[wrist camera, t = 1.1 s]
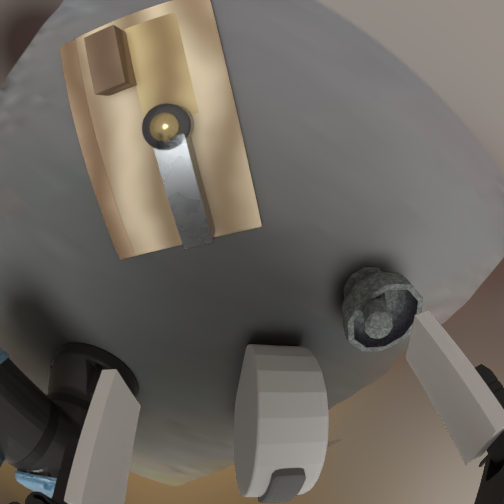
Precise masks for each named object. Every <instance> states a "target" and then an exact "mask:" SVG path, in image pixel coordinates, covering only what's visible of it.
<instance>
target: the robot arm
mask: <svg viewBox="0 0 504 504" xmlns="http://www.w3.org/2000/svg"><path fill="white" fill-rule="evenodd" d="M8 356H9V355H8V354H7V353H6V352H4V351H3V350H2V349H1V348H0V467H1V465H2V463H3V461H4V460H5V461H7V462H8V463H10V464H11V465H13V466H14V467H15V468H17V471H15V476H16V480H17V481H18V482H19V483H21V484H22V485H23V486H25V487H27V488H29V489H31V490H33V491H35V492H32V493H31V494H29V495H28V496H27V498H26V500H25V504H125V496H126V489H127V482H128V475H129V469H130V462H131V456H132V450H133V444H134V439H135V433H136V428H137V423H138V418H139V412H140V408H141V406H140V404H139V403H138V401H137V400H136V397H137V393H138V384H137V381H136V379H135V377H134V375H133V374H132V372H131V371H130V370H129V369H128V368H127V367H126V366H125V365H124V364H123V363H122V362H121V361H120V360H118V359H117V358H116V357H114V356H112V355H111V354H109V353H107V352H105V351H103V350H101V349H99V348H97V347H94V346H91V345H87V344H81V343H69V344H65V345H63V346H61V347H60V348H59V349H58V350H57V351H56V353H55V355H54V357H53V359H52V361H51V365H50V373H51V374H50V380H49V388H48V394H47V396H46V395H45V394H44V393H43V392H42V391H41V390H40V389H39V388H38V387H37V386H36V385H35V384H34V383H33V382H32V381H31V380H30V379H29V378H28V377H27V376H26V375H25V374H24V373H23V372H22V371H21V370H20V369H19V368H18V367H17V366H16V365H15V364H14V363H13V362H12V361H11V360H10V359H9V357H8ZM406 360H407V361H408V363H409V364H410V366H411V368H412V370H413V371H414V373H415V375H416V376H417V378H418V379H419V381H420V382H421V385H422V386H423V388H424V389H425V391H426V393H427V395H428V396H429V398H430V400H431V402H432V403H433V405H434V407H435V409H436V410H437V412H438V414H439V416H440V418H441V419H442V421H443V423H444V425H445V427H446V429H447V430H448V432H449V434H450V436H451V438H452V440H453V442H454V444H455V446H456V447H457V449H458V451H459V453H460V455H461V457H462V459H463V461H464V463H465V465H468V464H469V463H471V462H472V461H474V460H476V459H477V458H479V457H480V456H481V455H482V454H483V453H484V452H485V451H486V450H487V452H488V455H487V456H486V457H485V458H484V459H483V460H482V461H481V463H480V465H479V467H481V466H482V465H483V464H484V463H485V462H486V463H485V466H484V471H483V475H482V479H481V483H480V487H479V490H478V494H477V497H476V500H475V503H474V504H504V388H503V386H502V384H501V383H500V382H499V381H498V379H497V378H496V376H495V375H494V374H493V372H492V371H491V370H490V369H488V368H487V367H485V366H484V365H482V364H481V365H479V366H477V367H475V368H474V367H473V365H472V364H471V363H470V362H469V360H468V359H467V358H466V356H465V355H464V354H463V352H462V351H461V350H460V349H459V347H458V346H457V345H456V343H455V342H454V341H453V340H452V338H451V337H450V336H449V335H448V333H447V332H446V331H445V330H444V329H443V327H442V326H441V325H440V324H439V322H438V321H437V320H436V319H435V318H434V317H433V315H432V314H431V313H430V312H429V311H426V312H423V313H420V314H417V315H415V317H414V322H413V327H412V332H411V337H410V341H409V346H408V350H407V354H406ZM49 497H50V498H49ZM51 498H52V499H51ZM9 504H20V503H18V502H12V503H9Z"/></svg>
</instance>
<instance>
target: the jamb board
mask: <svg viewBox="0 0 504 504" xmlns="http://www.w3.org/2000/svg"><path fill="white" fill-rule="evenodd" d="M60 52H61V59H62V65H63V71H64V76H65V82H66V87H67V92H68V97H69V101H70V106H71V110H72V115H73V119H74V123H75V127H76V131H77V135H78V139H79V142H80V146H81V150H82V153H83V157H84V160H85V163H86V167H87V170H88V173H89V176H90V180H91V183H92V186H93V189H94V192H95V195H96V198H97V201H98V204H99V207H100V209H101V212H102V215H103V218H104V221H105V223H106V226H107V229H108V231H109V234H110V236H111V239H112V242H113V244H114V247H115V249H116V252H117V254H118V256H119V259H124V258H129V257H133V256H136V255H140V254H144V253H149V252H153V251H157V250H161V249H165V248H170V247H174V246H178V245H182V241H181V238H180V235H179V232H178V229H177V226H176V223H175V220H174V216H173V213H172V210H171V207H170V203H169V200H168V197H167V194H166V190H165V187H164V183H163V180H162V177H161V173H160V170H159V166H158V162H157V159H156V155H155V152H154V148H153V147H151V146H150V145H149V144H148V143H147V142H146V140H145V139H144V137H143V133H142V123H143V119H144V117H145V115H146V114H147V113H148V111H149V110H151V109H152V108H153V107H155V106H157V105H159V104H164V103H169V104H175V105H180V106H183V107H185V108H186V109H187V110H188V111H189V112H190V113H191V114H192V117H193V119H194V129H193V132H192V134H191V138H192V142H193V146H194V150H195V154H196V158H197V162H198V166H199V170H200V173H201V177H202V181H203V185H204V189H205V192H206V196H207V200H208V204H209V207H210V211H211V215H212V218H213V222H214V226H215V235H214V237H217V236H222V235H226V234H230V233H235V232H239V231H244V230H248V229H253V228H258V227H262V225H261V220H260V215H259V211H258V206H257V201H256V197H255V192H254V187H253V183H252V178H251V174H250V169H249V165H248V160H247V156H246V151H245V147H244V142H243V138H242V133H241V129H240V124H239V120H238V115H237V111H236V107H235V102H234V98H233V94H232V89H231V85H230V81H229V76H228V72H227V68H226V64H225V59H224V55H223V51H222V47H221V42H220V38H219V34H218V30H217V26H216V22H215V18H214V13H213V9H212V5H211V1H210V0H173V1H169V2H166V3H162V4H159V5H156V6H153V7H150V8H147V9H144V10H141V11H138V12H136V13H133V14H130V15H128V16H125V17H123V18H120V19H118V20H115V21H113V22H110V23H108V24H106V25H104V26H101V27H99V28H97V29H95V30H93V31H90V32H88V33H86V34H84V35H82V36H80V37H78V38H76V39H74V40H72V41H70V42H68V43H66V44H65V45H63V46H61V47H60Z"/></svg>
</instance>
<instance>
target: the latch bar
mask: <svg viewBox="0 0 504 504" xmlns="http://www.w3.org/2000/svg"><path fill="white" fill-rule="evenodd" d="M193 129H194V119H193V117H192V114H191V113H190V112H189V111H188V110H187V109H186V108H185V107H183V106H180V105H175V104H169V103H164V104H159V105H157V106H155V107H153V108H152V109H151V110H149V111H148V113H147V114H146V115H145V117H144V119H143V123H142V133H143V137H144V139H145V140H146V142H147V143H148V144H149V145H150V146H151V147H153V148H154V152H155V155H156V159H157V162H158V166H159V170H160V173H161V177H162V180H163V183H164V187H165V190H166V194H167V197H168V200H169V203H170V207H171V210H172V213H173V216H174V220H175V223H176V226H177V229H178V232H179V235H180V238H181V241H182V245H183V248H184V249H188V248H193V247H197V246H201V245H206V244H210V243H214V235H215V226H214V222H213V218H212V215H211V211H210V207H209V204H208V200H207V196H206V192H205V189H204V185H203V181H202V177H201V173H200V170H199V166H198V162H197V158H196V154H195V150H194V146H193V142H192V138H191V134H192V132H193Z"/></svg>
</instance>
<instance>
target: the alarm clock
mask: <svg viewBox="0 0 504 504" xmlns="http://www.w3.org/2000/svg"><path fill="white" fill-rule="evenodd" d="M328 421H329V414H328V403H327V392H326V388H325V383H324V379H323V375H322V371H321V369H320V366H319V364H318V362H317V359H316V357H315V356H314V355H313V353H312V352H311V351H310V350H309V349H308V348H305V347H300V346H276V345H258V344H248V345H247V347H246V350H245V355H244V360H243V365H242V370H241V375H240V380H239V385H238V390H237V394H236V399H235V413H234V461H235V472H236V479H237V484H238V488H239V490H240V493H241V495H243V496H245V497H258V501H259V502H261V503H275V502H287V501H290V500H291V499H293V498H294V497H295V496H297V494H303V493H305V492H307V491H309V490H310V489H311V488H312V487H313V486H314V484H315V483H316V481H317V480H318V478H319V475H320V472H321V470H322V467H323V464H324V460H325V454H326V449H327V443H328Z"/></svg>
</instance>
